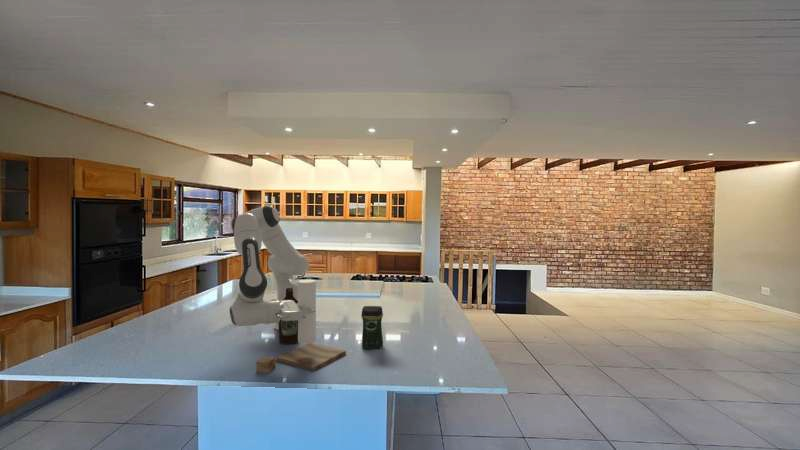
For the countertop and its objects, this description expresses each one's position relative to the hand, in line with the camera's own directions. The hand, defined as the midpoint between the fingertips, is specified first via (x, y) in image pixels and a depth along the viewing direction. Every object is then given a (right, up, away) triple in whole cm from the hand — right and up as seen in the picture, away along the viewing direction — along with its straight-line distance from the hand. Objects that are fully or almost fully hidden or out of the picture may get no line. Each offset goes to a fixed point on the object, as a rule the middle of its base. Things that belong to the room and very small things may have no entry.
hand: (309, 308), depth 158 cm
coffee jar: (+25, -21, +14) cm, 35 cm away
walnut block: (-14, -21, -11) cm, 28 cm away
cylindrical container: (-1, -14, 0) cm, 14 cm away
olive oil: (-14, -20, +21) cm, 33 cm away
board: (+1, -21, +1) cm, 21 cm away
